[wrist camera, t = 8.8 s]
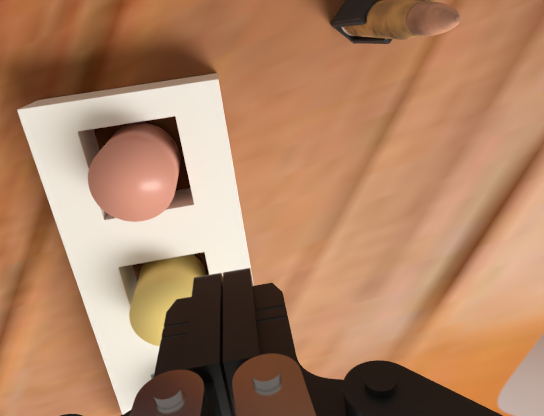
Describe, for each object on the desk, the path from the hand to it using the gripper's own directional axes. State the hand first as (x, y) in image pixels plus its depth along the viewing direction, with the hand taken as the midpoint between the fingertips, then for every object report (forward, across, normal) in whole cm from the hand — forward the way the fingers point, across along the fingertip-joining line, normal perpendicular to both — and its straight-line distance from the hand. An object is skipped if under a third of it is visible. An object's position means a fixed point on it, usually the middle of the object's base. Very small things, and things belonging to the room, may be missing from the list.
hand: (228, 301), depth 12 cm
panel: (+17, +5, +8) cm, 19 cm away
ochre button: (+16, +5, +8) cm, 18 cm away
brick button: (+16, +5, 0) cm, 16 cm away
